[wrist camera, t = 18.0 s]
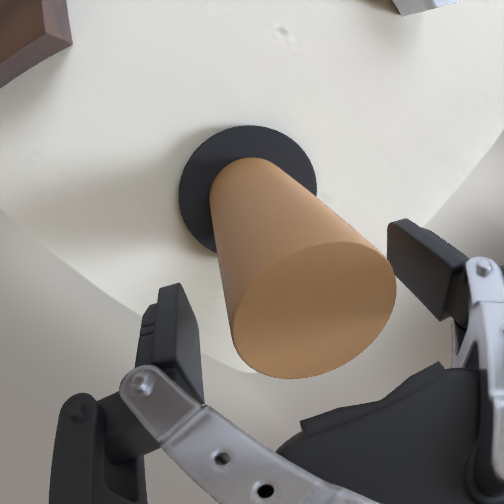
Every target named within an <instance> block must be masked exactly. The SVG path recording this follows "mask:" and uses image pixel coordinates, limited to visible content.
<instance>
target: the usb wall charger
mask: <svg viewBox="0 0 504 504" xmlns="http://www.w3.org/2000/svg"><path fill="white" fill-rule="evenodd" d="M393 2H394V4H395V5H396V7H397V8H398V10H399V12H400V14H401V15H402V16H406V15H410V14H413V13H417V12H422V11H426V10H430V9H434V8H438V7H442V6H445V5H449V4H453V3H457V2H458V1H457V0H393Z"/></svg>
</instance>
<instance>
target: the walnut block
mask: <svg viewBox="0 0 504 504" xmlns="http://www.w3.org/2000/svg"><path fill="white" fill-rule="evenodd" d="M72 44H73V43H72V37H71V31H70V25H69V18H68V11H67V4H66V0H0V88H1V87H3V86H4V85H6V84H7V83H8V82H10V81H11V80H13V79H14V78H16V77H17V76H19V75H20V74H22V73H23V72H25V71H26V70H28V69H30V68H31V67H33V66H34V65H36V64H38V63H39V62H41V61H43V60H44V59H46V58H48V57H50V56H51V55H53V54H55V53H57V52H59V51H61V50H62V49H64V48H66V47H68V46H70V45H72Z"/></svg>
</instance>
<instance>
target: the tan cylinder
mask: <svg viewBox="0 0 504 504" xmlns="http://www.w3.org/2000/svg"><path fill="white" fill-rule="evenodd" d="M209 201H210V209H211V216H212V223H213V229H214V236H215V242H216V248H217V255H218V261H219V267H220V273H221V279H222V285H223V291H224V297H225V302H226V308H227V314H228V319H229V325H230V330H231V336H232V340H233V344H234V347H235V349H236V351H237V353H238V355H239V356H240V357H241V359H242V360H243V361H244V362H245V363H246V364H247V365H248V366H250V367H251V368H253V369H254V370H256V371H258V372H260V373H262V374H265V375H268V376H271V377H275V378H283V379H300V378H308V377H312V376H317V375H320V374H323V373H326V372H329V371H331V370H334V369H336V368H338V367H340V366H342V365H344V364H346V363H347V362H349V361H351V360H352V359H353V358H355V357H356V356H358V355H359V354H360V353H362V352H363V351H364V350H365V349H366V348H367V347H368V346H369V345H370V344H371V343H372V342H373V341H374V340H375V339H376V338H377V336H378V335H379V334H380V332H381V331H382V330H383V328H384V327H385V325H386V323H387V321H388V320H389V318H390V315H391V313H392V310H393V307H394V304H395V299H396V278H395V275H394V271H393V269H392V267H391V265H390V263H389V261H388V260H387V259H386V257H385V256H384V255H383V254H382V253H381V252H380V251H379V250H378V249H377V248H375V247H374V246H373V245H372V244H371V243H370V242H369V241H368V240H366V239H365V238H364V237H363V236H362V235H361V234H360V233H359V232H357V231H356V230H355V229H354V228H353V227H352V226H350V225H349V224H348V223H347V222H346V221H345V220H343V219H342V218H341V217H340V216H339V215H338V214H336V213H335V212H334V211H333V210H332V209H330V208H329V207H328V206H327V205H325V204H324V203H323V202H322V201H321V200H319V199H318V198H317V197H316V196H314V195H313V194H312V193H311V192H309V191H308V190H307V189H306V188H304V187H303V186H302V185H301V184H299V183H298V182H297V181H296V180H294V179H293V178H292V177H290V176H289V175H288V174H286V173H285V172H284V171H283V170H281V169H280V168H279V167H277V166H276V165H275V164H273V163H271V162H269V161H267V160H265V159H261V158H253V157H252V158H243V159H239V160H236V161H234V162H232V163H230V164H229V165H227V166H226V167H224V168H223V169H222V170H221V171H220V172H219V173H218V175H217V176H216V178H215V179H214V181H213V183H212V186H211V190H210V196H209Z"/></svg>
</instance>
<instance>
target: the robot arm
mask: <svg viewBox="0 0 504 504" xmlns="http://www.w3.org/2000/svg"><path fill="white" fill-rule="evenodd" d="M387 260H388V261H389V263H390V265H391V267H392V269H393V271H394V275H395V276H396V277H397V278H398V279H399V280H400V281H401V282H403V284H404V285H405V286H406V287H407V288H408V289H409V290H410V291H411V292H412V293H413V294H414V295H415V296H416V297H417V298H418V299H419V300H420V301H421V302H422V303H423V304H424V305H425V306H426V307H427V309H428V310H429V311H431V313H432V314H433V315H434V316H435V317H436V318H437V319H438V320H439V321H442V320H444V319H446V318H448V317H450V316H451V317H452V318H453V320H452V324H451V336H452V337H451V338H452V362H451V363H452V364H451V368H450V369H444V367H443V366H442V365H441V363H440V362H439V361H438V362H436V363H434V364H433V365H431V366H429V367H427V368H425V369H424V370H422V371H420V372H418V373H416V374H414V375H412V376H410V377H409V378H408V379H407V380H405V381H404V382H403V383H402V384H401V385H399V386H398V387H397V388H396V389H395V390H394V391H392V392H391V393H390V394H388V395H387V396H386V397H385V398H383V399H381V400H379V401H375V402H370V403H365V404H359V405H354V406H347V407H340V408H337V409H334V410H331V411H329V412H326V413H323V414H320V415H317V416H314V417H311V418H308V419H305V420H302V421H300V425H301V429H302V431H301V432H299V433H298V434H296V435H294V436H293V437H291V438H290V439H289V440H287V441H286V442H285V443H284V444H283V445H282V446H280V447H279V448H278V449H277V451H276V452H274V451H272V450H270V449H269V448H268V447H266V446H265V445H263V444H262V443H260V442H259V441H257V440H256V439H254V438H253V437H251V436H250V435H248V434H247V433H246V432H244V431H243V430H241V429H240V428H239V427H237V426H236V425H234V424H233V423H232V422H230V421H229V420H227V419H226V418H225V417H224V416H222V415H221V414H220V413H218V412H217V411H216V410H214V409H213V408H212V407H210V406H208V405H204V406H202V404H205V403H204V392H203V381H202V369H201V356H200V341H199V329H198V324H197V321H196V318H195V315H194V313H193V310H192V308H191V306H190V304H189V301H188V299H187V296H186V294H185V292H184V289H183V287H182V285H181V284H180V283H176V284H173V285H169V286H165V287H162V288H160V289H159V294H158V301H157V303H156V304H152V305H150V306H149V307H148V309H147V310H146V312H145V313H144V315H143V318H142V324H141V329H140V337H139V342H138V348H137V355H136V362H135V368H134V369H133V370H131V371H130V372H129V373H127V375H125V377H124V378H123V380H122V381H121V384H120V387H119V391H118V392H116V393H114V394H112V395H110V396H107V397H105V398H103V399H101V400H99V401H96V400H95V399H94V398H93V397H92V396H91V395H89V394H87V393H79V394H76V395H73V396H72V397H70V398H69V399H68V400H67V401H66V402H65V403H64V404H63V406H62V408H61V410H60V414H59V419H58V425H57V431H56V438H55V443H54V450H53V459H52V467H51V477H50V490H49V504H148V503H147V493H146V482H145V468H144V455H145V454H147V453H150V452H152V451H154V450H156V449H159V448H162V449H163V450H164V452H165V453H166V454H167V455H168V456H169V457H170V458H171V459H172V460H173V461H174V462H175V463H176V464H177V465H178V466H179V467H180V468H181V469H182V470H183V471H184V472H185V473H186V474H187V475H188V476H189V477H190V478H191V479H192V480H193V481H194V482H196V483H197V484H198V485H199V486H200V487H201V488H202V489H203V490H204V491H205V492H206V493H208V494H209V495H210V496H211V497H212V498H213V499H214V500H216V501H217V502H218V503H219V504H504V266H499V265H498V264H497V263H496V262H494V261H493V260H491V259H489V258H486V257H473V258H468V257H467V256H466V255H464V254H463V253H462V252H460V251H459V250H457V249H456V248H455V247H453V246H452V245H451V244H449V243H447V242H446V241H445V240H443V239H442V238H440V237H439V236H438V235H436V234H435V233H433V232H432V231H430V230H427V229H424V228H421V227H419V226H418V225H416V224H415V223H413V222H412V221H410V220H409V219H406V218H405V219H401V220H398V221H395V222H391V223H389V225H388V228H387Z"/></svg>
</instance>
